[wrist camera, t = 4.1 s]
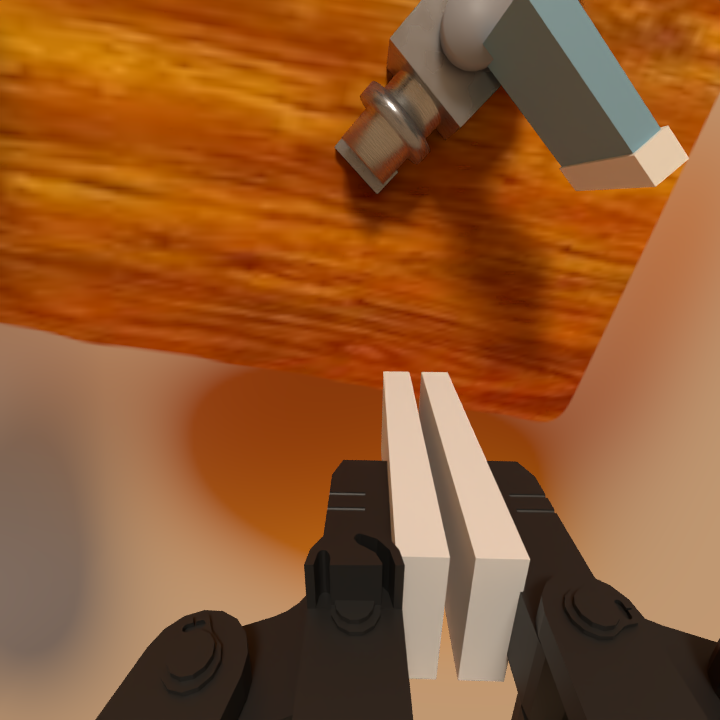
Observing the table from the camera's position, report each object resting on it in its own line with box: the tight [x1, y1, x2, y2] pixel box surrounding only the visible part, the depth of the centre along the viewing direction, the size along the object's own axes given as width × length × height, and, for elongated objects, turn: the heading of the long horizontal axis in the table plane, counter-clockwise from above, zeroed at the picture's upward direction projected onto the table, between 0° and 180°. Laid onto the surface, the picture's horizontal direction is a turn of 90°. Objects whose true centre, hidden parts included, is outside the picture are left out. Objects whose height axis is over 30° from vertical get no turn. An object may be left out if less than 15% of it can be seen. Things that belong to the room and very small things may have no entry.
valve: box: [335, 0, 501, 194], centre depth 28 cm, size 22×7×7 cm, turn 135°
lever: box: [440, 0, 689, 191], centre depth 22 cm, size 14×4×8 cm, turn 45°
